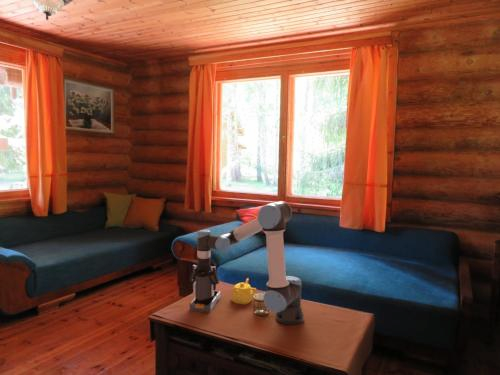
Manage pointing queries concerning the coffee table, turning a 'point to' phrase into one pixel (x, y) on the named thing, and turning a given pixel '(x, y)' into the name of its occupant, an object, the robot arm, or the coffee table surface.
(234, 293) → the teapot
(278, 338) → the coffee table surface
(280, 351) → the coffee table surface
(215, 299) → the rack
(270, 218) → the robot arm
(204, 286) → the electronic device
